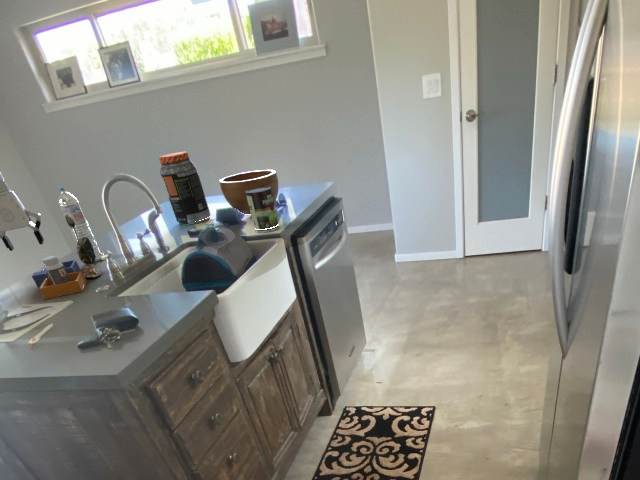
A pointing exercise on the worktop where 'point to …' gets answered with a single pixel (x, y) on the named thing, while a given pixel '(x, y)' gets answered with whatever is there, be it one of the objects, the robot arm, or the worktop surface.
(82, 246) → the plant with pod
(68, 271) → the blue bin
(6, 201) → the robot arm
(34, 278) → the blue block
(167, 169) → the supplement tub
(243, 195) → the bowl
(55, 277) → the pill bottle
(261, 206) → the coffee can
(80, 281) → the amber bin
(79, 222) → the water bottle
